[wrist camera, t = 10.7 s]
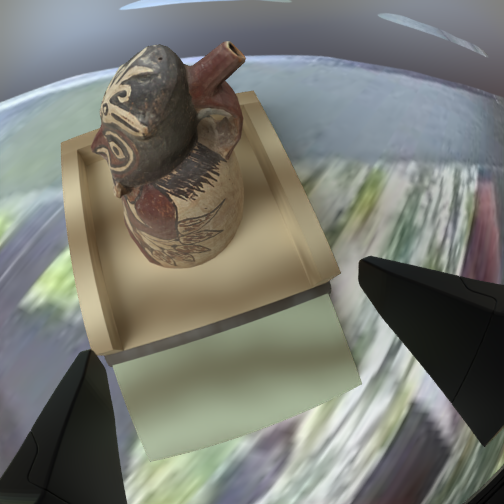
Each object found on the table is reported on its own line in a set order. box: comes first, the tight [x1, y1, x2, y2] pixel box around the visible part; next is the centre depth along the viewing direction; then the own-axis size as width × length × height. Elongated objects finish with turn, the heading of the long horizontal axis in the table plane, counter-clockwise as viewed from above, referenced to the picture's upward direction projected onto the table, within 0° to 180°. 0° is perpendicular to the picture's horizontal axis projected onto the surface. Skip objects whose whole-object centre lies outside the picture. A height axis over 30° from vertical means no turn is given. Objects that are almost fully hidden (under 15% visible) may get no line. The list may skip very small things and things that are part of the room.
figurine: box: [91, 42, 246, 269], centre depth 14 cm, size 7×7×12 cm
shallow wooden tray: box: [61, 91, 362, 462], centre depth 18 cm, size 21×14×4 cm
